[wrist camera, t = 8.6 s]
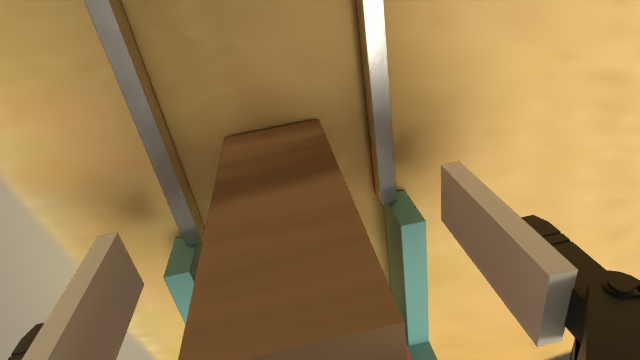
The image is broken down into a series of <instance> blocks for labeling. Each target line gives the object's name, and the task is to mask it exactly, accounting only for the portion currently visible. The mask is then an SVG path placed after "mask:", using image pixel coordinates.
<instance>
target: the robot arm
mask: <svg viewBox="0 0 640 360" xmlns="http://www.w3.org/2000/svg"><path fill="white" fill-rule="evenodd" d="M441 220H442V221H443V223H444V224H445V225H446V227H447V228H448V229H449V231H450V232H451V233H452V235H453V236H454V237H455V239H456V240H457V241H458V243H459V244H460V245H461V247H462V248H463V249H464V251H465V252H466V253H467V255H468V256H469V257H470V259H471V260H472V261H473V263H474V264H475V265H476V266H477V268H478V269H479V270H480V272H481V273H482V274H483V276H484V277H485V278H486V280H487V281H488V282H489V284H490V285H491V286H492V288H493V289H494V290H495V292H496V293H497V294H498V296H499V297H500V298H501V300H502V301H503V302H504V304H505V305H506V306H507V308H508V309H509V310H510V312H511V313H512V314H513V315H514V317H515V318H516V319H517V321H518V322H519V323H520V325H521V326H522V327H523V329H524V330H525V331H526V333H527V334H528V335H529V337H530V338H531V339H532V341H533V342H534V343H535V345H536V346H542V345H546V344H550V343H554V342H559V341H562V338H563V334H564V329H565V327H566V328H567V329H568V330H569V331H570V332H571V333H572V335H573V336H574V337H575V340H574V344H573V348H572V352H571V356H570V360H640V280H638V279H636V278H635V277H633V276H631V275H628V274H625V273H622V272H617V271H608V270H605V269H604V268H603V267H602V266H601V265H599V264H598V263H597V262H596V261H595V260H593V259H592V258H591V257H590V256H589V255H588V254H586V253H585V252H584V251H583V250H582V249H580V248H579V247H578V246H577V245H576V244H574V243H573V242H570V239H568V238H567V237H566V236H565V235H564V234H561V233H560V231H559V230H558V229H557V228H555V227H554V226H553V225H552V224H551V223H549V222H548V221H546V220H543V219H541V218H539V217H537V216H535V215H530V216H526V217H520V216H519V215H518V214H517V213H515V212H514V211H513V210H512V209H511V208H510V207H509V206H508V205H507V204H506V203H504V202H503V201H502V200H501V199H500V198H499V197H498V196H497V195H496V194H495V193H494V192H492V191H491V190H490V189H489V188H488V187H487V186H486V185H485V184H484V183H483V182H482V181H480V180H479V179H478V178H477V177H476V176H475V175H474V174H473V173H472V172H471V171H469V170H468V169H467V168H466V167H465V166H464V165H463V164H462V163H461V162H460V161H458V162H453V163H448V164H443V165H441ZM143 286H144V283H143V281H142V279H141V277H140V275H139V273H138V271H137V269H136V267H135V265H134V264H133V262H132V260H131V258H130V256H129V254H128V252H127V250H126V248H125V246H124V244H123V242H122V240H121V238H120V236H119V234H118V233H113V234H108V235H103V236H98V237H97V239H96V240H95V242H94V244H93V245H92V247H91V248H90V250H89V252H88V253H87V255H86V257H85V258H84V260H83V261H82V263H81V265H80V266H79V268H78V270H77V271H76V273H75V274H74V276H73V278H72V279H71V281H70V283H69V284H68V286H67V287H66V289H65V291H64V292H63V294H62V295H61V297H60V299H59V300H58V302H57V304H56V305H55V307H54V308H53V310H52V312H51V313H50V315H49V316H48V318H47V320H46V321H45V323H41V324H37V325H35V326H34V327H33V329H31V330H30V331H29V332H28V333H27V334H26V335H25V336H24V337H23V338H22V339H21V340H20V342H19V343H18V345H17V346H16V348H15V350H14V351H13V353H12V354H11V355H12V356H11V357H9V359H8V360H116V358H117V356H118V353H119V350H120V348H121V345H122V342H123V339H124V337H125V334H126V332H127V329H128V326H129V324H130V321H131V318H132V315H133V313H134V310H135V307H136V305H137V302H138V299H139V297H140V294H141V291H142V289H143Z"/></svg>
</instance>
